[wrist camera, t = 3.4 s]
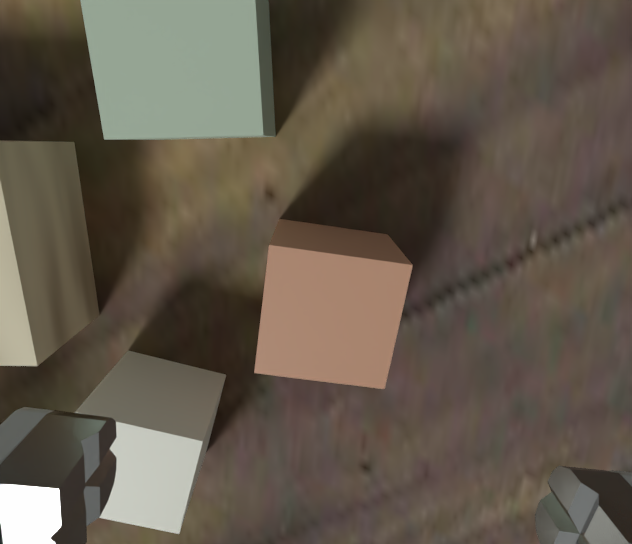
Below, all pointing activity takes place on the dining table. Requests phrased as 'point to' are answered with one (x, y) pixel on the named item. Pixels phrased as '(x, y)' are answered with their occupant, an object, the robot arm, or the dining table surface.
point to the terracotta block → (331, 304)
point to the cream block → (156, 436)
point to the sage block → (181, 68)
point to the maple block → (42, 251)
